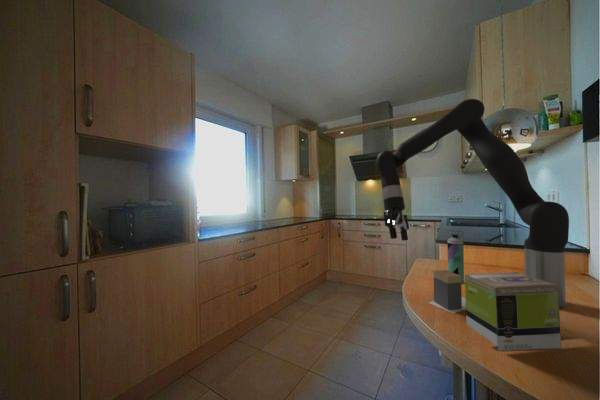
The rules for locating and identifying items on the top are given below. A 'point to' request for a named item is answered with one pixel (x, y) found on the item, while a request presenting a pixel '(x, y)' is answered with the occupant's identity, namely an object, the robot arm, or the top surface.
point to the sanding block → (447, 289)
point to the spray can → (456, 256)
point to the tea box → (513, 310)
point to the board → (452, 310)
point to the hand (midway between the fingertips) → (399, 239)
